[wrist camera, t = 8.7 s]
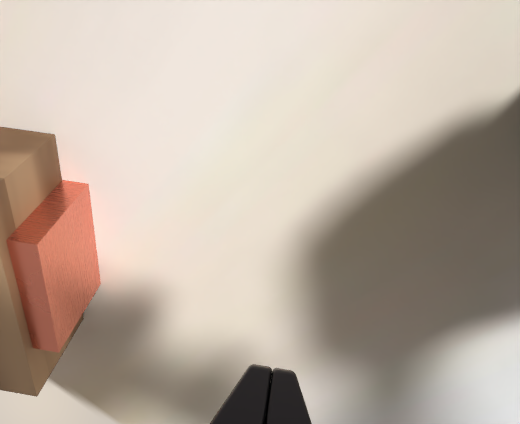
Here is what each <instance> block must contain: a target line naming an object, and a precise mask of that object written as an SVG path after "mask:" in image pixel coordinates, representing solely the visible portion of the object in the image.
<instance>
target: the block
mask: <svg viewBox="0 0 520 424" xmlns="http://www.w3.org/2000/svg"><path fill="white" fill-rule="evenodd" d="M61 181H62V178H61V172H60V165H59V159H58V153H57V146H56V140H55V135H54V134H47V133H40V132H33V131H26V130H19V129H12V128H5V127H0V390H4V391H9V392H15V393H21V394H26V395H32V396H38V394H39V392H40V391H41V389H42V387H43V386H44V384H45V382H46V381H47V379H48V377H49V376H50V374H51V372H52V371H53V369H54V367H55V365H56V364H57V362H58V360H59V359H60V357H61V355H62V354H63V352H64V350H65V349H66V347H67V345H68V344H69V342H70V340H71V339H72V337H73V335H74V334H75V332H76V330H77V329H78V327H79V325H80V323H81V322H82V320H83V314H82V316H81V317H80V319H79V321H78V322H77V324H76V326H75V327H74V329H73V331H72V332H71V334H70V336H69V337H68V339H67V341H66V342H65V344H64V346H63V347H62V349H61V351H60V352H59V353H58V352H52V351H46V350H41V349H35V348H33V346H32V342H31V338H30V334H29V330H28V326H27V322H26V318H25V314H24V310H23V306H22V302H21V298H20V294H19V290H18V286H17V282H16V278H15V274H14V270H13V266H12V262H11V258H10V254H9V250H8V246H7V242H6V240H7V239H8V238H9V237H10V235H11V234H12V233H13V232H14V231H15V230H16V229H17V228H18V227H19V226H20V225H21V224H22V223H23V222H24V221H25V220H26V218H27V217H28V216H29V215H30V214H31V213H32V212H33V211H34V210H35V209H36V208H37V207H38V206H39V205H40V204H41V203H42V201H43V200H44V199H45V198H46V197H47V196H48V195H49V194H50V193H51V192H52V191H53V190H54V189H55V188H56V187H57V186H58V184H59V183H60V182H61Z"/></svg>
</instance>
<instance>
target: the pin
mask: <svg viewBox="0 0 520 424" xmlns="http://www.w3.org/2000/svg"><path fill="white" fill-rule="evenodd" d="M6 242H7V246H8V250H9V254H10V258H11V262H12V266H13V270H14V274H15V278H16V282H17V286H18V290H19V294H20V298H21V302H22V306H23V310H24V314H25V318H26V322H27V326H28V330H29V334H30V338H31V342H32V346H33V348H35V349H41V350H46V351H52V352H58V353H59V352H60V351H61V349H62V347H63V346H64V344H65V342H66V341H67V339H68V337H69V336H70V334H71V332H72V331H73V329H74V327H75V326H76V324H77V322H78V321H79V319H80V317H81V316H82V314H83V312H84V311H85V309H86V307H87V306H88V304H89V302H90V301H91V299H92V297H93V296H94V294H95V292H96V291H97V289H98V288H99V286H100V284H101V283H100V275H99V266H98V258H97V250H96V242H95V234H94V226H93V217H92V209H91V201H90V193H89V185H88V184H85V183H79V182H72V181H65V180H62V181H61V182H60V183H59V184H58V186H57V187H56V188H55V189H54V190H53V191H52V192H51V193H50V194H49V195H48V196H47V197H46V198H45V199H44V200H43V201H42V203H41V204H40V205H39V206H38V207H37V208H36V209H35V210H34V211H33V212H32V213H31V214H30V215H29V216H28V217H27V218H26V220H25V221H24V222H23V223H22V224H21V225H20V226H19V227H18V228H17V229H16V230H15V231H14V232H13V233H12V234H11V235H10V237H9V238H8V239H7V240H6Z"/></svg>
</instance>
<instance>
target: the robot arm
mask: <svg viewBox="0 0 520 424" xmlns="http://www.w3.org/2000/svg"><path fill="white" fill-rule="evenodd" d="M271 375H272V377H271ZM270 382H271V383H270ZM269 389H270V390H269ZM210 424H312V423H311V420H310V417H309V414H308V411H307V408H306V405H305V401H304V398H303V395H302V392H301V389H300V386H299V383H298V380H297V377H296V374H295V373H294V372H293V371H291V370H285V369H279V368H275V369H273V371H272V369H271V368H270V367H267V366H261V365H255V364H253V365H251V366H249V367H248V369H247V370H246V372H245V373H244V375H243V376H242V378H241V379H240V380H239V382H238V383H237V385H236V386H235V388H234V389H233V391H232V392H231V394H230V395H229V397H228V398H227V399H226V401H225V402H224V404H223V405H222V407H221V408H220V410H219V411H218V413H217V414H216V415H215V417H214V418H213V420H212V421H211V423H210Z"/></svg>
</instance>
